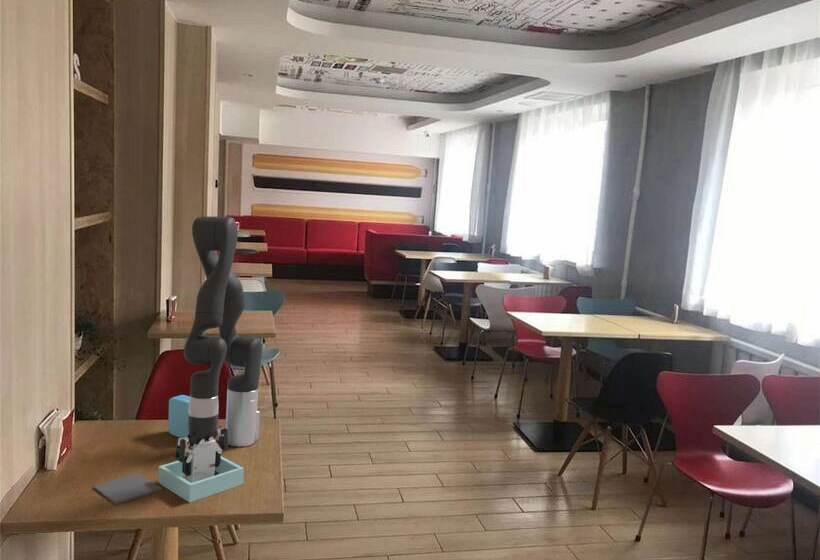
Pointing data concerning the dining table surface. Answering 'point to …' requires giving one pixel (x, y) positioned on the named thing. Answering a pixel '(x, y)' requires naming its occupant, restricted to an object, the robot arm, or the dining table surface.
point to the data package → (178, 416)
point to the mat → (127, 488)
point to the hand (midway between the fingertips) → (201, 470)
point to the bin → (197, 490)
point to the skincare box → (203, 462)
